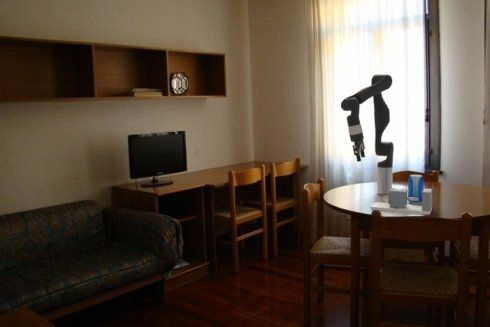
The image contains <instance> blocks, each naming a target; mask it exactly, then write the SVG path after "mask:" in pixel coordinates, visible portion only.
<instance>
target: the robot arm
mask: <svg viewBox="0 0 490 327" xmlns="http://www.w3.org/2000/svg"><path fill="white" fill-rule="evenodd" d="M392 85H393V78H392V76H391V75H390V74H385V73H379V74H378V73H377V74H376V73H375V74H373V75H372V77H371V83H370V85H369V86H366V87H364V88H362V89H360V90H358V91H357V92H356V93H354V94H352V95H350V96H348V97H345V98H344V99H342V101H341V103H340V109H341V110H343V111H344V112H350V114H349V115H347V117H346V121H347V122H346V123H347V129H348V134H349V135H348V136H349V140H350V143H353V144H352V150H353V155H354V156H356V158H355V159H356V161H357V163H358V162H362V158H366V154H365V149H366V146H365V142H364V140H365V137H364V134H363V133H364V132H363V129H362V128H363V127H362V125H361V120H360V108H361V106H360V105H363V104H364V103H365V102H366V101H368V100H369V99H371V98H372V100H373V115H374V116H373V120H374V130H375V131H374V152H375V155H376V156H378V157H386V158H385V159H384V160H380V161H378V162H377V164H376V165H377V168H376V169H377V170H376V173H377V174H376V194H377V195H382V196H389V192H390V190H391V189H392V188H393V170H394V169H393V164H394V163H393V162H394V151H395V150H394V149H395V148H394V146H395V145H394V143H393V141H382V136H383V134H384V132H385V131H386V129H387V127H388V126H389V125H390V121H391V114H390V112H391V111H390V108H389V107H388V105H387V103H386V101H385V99H384V97H383V94H382V92H384V91H387V90H389V89H390V88H391V87H392Z"/></svg>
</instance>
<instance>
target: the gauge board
mask: <svg viewBox="0 0 490 327" xmlns="http://www.w3.org/2000/svg"><path fill="white" fill-rule="evenodd" d="M371 209H373V210H372V211H382V212H392V213H393V212H397V213H407V214H408V213H409V214H419V215H431V212H432V209H433V188H425V187H424V190H423V192H422V204H421V205H418V204H407V206H406V208H395V207H390V204H389V202H388V203H387V202H378V201H377V202H374V203H373V204H372V206H370V210H371Z"/></svg>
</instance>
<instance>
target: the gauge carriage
mask: <svg viewBox="0 0 490 327" xmlns="http://www.w3.org/2000/svg"><path fill="white" fill-rule="evenodd" d="M408 200H413V201H418V198H413V197H408V188H399V187H398V188H396V187H392V189H391V190H390V192H389V195H388V203H389V204H390V207H395V208H406V206H407V205H408Z"/></svg>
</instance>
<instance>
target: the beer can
mask: <svg viewBox="0 0 490 327" xmlns="http://www.w3.org/2000/svg"><path fill="white" fill-rule="evenodd" d="M424 183H425V179H424V177H423V175H422V174H410V175H409V177H408V179H407V189H408V190H407V197H413V198H418V201H413V200H407V202H408V203H409V204H410V205H422V192H423V190H424V188H425V187H424V186H425V184H424Z"/></svg>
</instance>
